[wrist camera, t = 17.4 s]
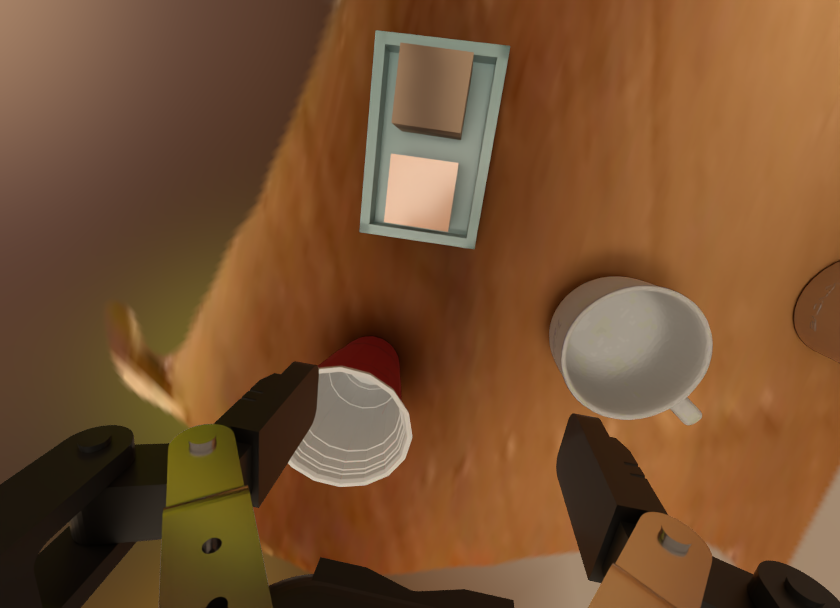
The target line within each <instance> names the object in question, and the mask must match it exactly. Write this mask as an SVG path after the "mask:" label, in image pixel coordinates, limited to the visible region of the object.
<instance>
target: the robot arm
mask: <svg viewBox="0 0 840 608" xmlns="http://www.w3.org/2000/svg"><path fill="white" fill-rule="evenodd" d="M794 323H795V329H796V331H797V334H798V336H799V338H800V339H801V340H802V341H803V342H804V343H805V345H807V346H808V347H810V348H811V349H813V350H814V351H816V352H818V353H820V354H822V355H825V356H827V357H829V358H831V359H833V360H835V361H837V362H839V363H840V262H837V263H835V264H833V265H832V266H830V267H828V268H826V269H825V270H823V271H822V272H821V273H820V274H818V275H817V276H816V277H815V278H813V280H812V281H811V282H810V283H809V284H808V285H807V286H806V288H805V289H804V291H803V292H802V294H801V296H800V297H799V299H798V302H797V305H796V308H795V314H794ZM318 380H319V368H318V366H317V365H312V364H307V363H301V362H296V361H295V362H293V363H292V364H291V365H290V366H289V367H288V368H287V369H286V370H285V371H284V372H283V373H282V374H276V373H274V374H272V375H270V376H268V377H265V378H263V379H261V380H259V381H258V382H257V383H256V384H255V385H254V386H253V387H252V388H251V389H250V391H248V392H247V393H246V394H245V395H244V396H243V397H242V399H239V400H238V401H237V402H236V403H235V404H234V405H233V406H232V407H231V408H230V409H229V410H228V411H227V412H226V413H225V414H224V415H222V416H221V417H220V418H219V419H218V420H217V421H216V422H215V423H214V424H204V425H199V426H195V427H192V428H189V429H187V430H185V431H183V432H181V433H180V434H178V435H177V436H176V437H174V438H173V439H172V441H171V442H170V443H168V444H143V445H142V444H141V445H135V444H134V435H133V433H132V431H131V430H129V429H128V428H126V427H123V426H117V425H108V426H100V427H95V428H91V429H87V430H84V431H82V432H79V433H77V434H75V435H73V436H71V437H69V438H68V439H66V440H64V441H63V442H61V443H60V444H59V445H57V446H56V447H54V448H53V449H51V450H50V451H48V452H47V453H45V454H44V455H43V456H41V457H40V458H38V459H37V460H35V461H34V462H33V463H31V464H30V465H28V466H27V467H25V468H24V469H22V470H21V471H20V472H18V473H16V474H15V475H14V476H12V477H11V478H9V479H8V480H6V481H5V482H3V483H2V484H1V485H0V608H81V607H82V605H83V604H84V603H85V602H86V601H87V600H88V598H89V597H90V596H91V595H92V594H93V593H94V591H95V590H96V589H97V588H98V587H99V585H100V584H101V583H102V582H103V581H104V580H105V578H106V577H107V576H108V575H109V574H110V572H111V571H112V570H113V569H114V568H115V567H116V565H117V564H118V563H119V562H120V561H121V560H122V558H123V557H124V556H125V555H126V554H127V553H128V551H129V550H130V549H131V548H132V547H133V545H134V544H135V543H136V542H137V541H147V540H158V539H162V541H161V566H160V587H159V608H514V602H513V600H510V599H506V598H501V597H497V596H492V595H488V594H483V593H478V592H474V591H469V590H465V589H462V590H440V591H419V592H418V591H411V590H409V589H407V588H405V587H403V586H401V585H399V584H397V583H395V582H393V581H392V580H390V579H388V578H386V577H384V576H382V575H380V574H378V573H376V572H374V571H372V570H370V569H368V568H366V567H362V566H357V565H353V564H348V563H344V562H339V561H335V560H330V559H326V558H321V557H320V560H319V562H318V565H317V567H316V570H315V572H314V574H308V575H301V576H295V577H292V578H288V579H285V580H282V581H279V582H277V583H274V584H272V585H270V586H269V585H268V580H267V575H266V570H265V565H264V561H263V555H262V550H261V545H260V540H259V536H258V531H257V526H256V521H255V516H254V511H253V507H257V508H259V507H260V505H261V503H262V502H263V500H264V499H265V497H266V496H267V494H268V493H269V491H270V490H271V488H272V486H273V485H274V483H275V482H276V480H277V479H278V477H279V476H280V474H281V473H282V471H283V469H284V468H285V466H286V465H287V463H288V462H289V460H290V459H291V457H292V456H293V454H294V452H295V451H296V449H297V448H298V446H299V445H300V443H301V442H302V440H303V439H304V437H305V435H306V434H307V432H308V431H309V429H310V428H311V426H312V424H313V421H314V418H315V415H316V410H317V397H318ZM556 469H557V477H558V480H559V484H560V487H561V490H562V494H563V497H564V500H565V504H566V507H567V510H568V514H569V517H570V520H571V524H572V527H573V530H574V534H575V537H576V540H577V544H578V547H579V550H580V554H581V557H582V560H583V564H584V567H585V570H586V574H587V577H588V580H590V581H594V582H599V583H601V585H600V587H599V589H598V590H597V592H596V594H595V596H594V598H593V599H592V601H591V603H590V605H589V607H588V608H840V602H839V601H838V599H837V598H836V597H835V596H834V595H833V594H832V593H831V592H829V591H828V590H827V589H826V588H825V587H824V586H822V585H821V584H820V583H818V582H817V581H815V580H814V579H812V578H811V577H810V576H808V575H806V574H805V573H803V572H801V571H799V570H797V569H795V568H793V567H791V566H789V565H786V564H784V563H780V562H776V561H763V562H761V563H760V564H759V566H758V567H757V569H756V571H755V573H754V575H753V574H751V573H749V572H747V571H744V570H742V569H740V568H737V567H735V566H733V565H731V564H728V563H726V562H724V561H721V560H719V559H717V558H715V557H713V556H712V554H711V551H710V549H709V547H708V546H707V544H706V543H705V541H704V540H703V539H702V538H701V537H700V536H699V535H698V534H697V533H696V532H695V531H694V530H693V529H691V528H690V527H689V526H687V525H686V524H684V523H683V522H681V521H679V520H678V519H676V518H674V517H671V516H669V515H668V514H667V512H666V511H665V509H664V507H663V506H662V504H661V502H660V501H659V499H658V497H657V496H656V494H655V492H654V491H653V489H652V487H651V485H650V484H649V482H648V480H647V479H645V475H644V474H643V472H642V470H641V469H640V467H638V464H637V462H636V460H635V459H634V457H633V455H632V454H631V452H630V451H629V450H628V449H627V448H626V447H625V446H624V445H623V444H622V443H621V442H620V441H618V440H617V439H616V438H612V437H609V435H608V433H607V431H606V429H605V428H604V426H603V424H602V422H601V420H600V419H599V418H595V417H590V416H585V415H579V414H571V416H570V417H569V420H568V423H567V426H566V430H565V433H564V436H563V439H562V443H561V446H560V449H559V453H558V456H557V465H556ZM68 522H69V527H68V528H66V529H65V530H64V531H63V532H62V533H61V534H60V535H59V536H58V537H57V538H56V539H54V540H53V541H52V542H51V543H50V544H49V545H48V546H47V547H46V548H45V549H44V550H43V551H42V552H40V550H41V549H42V547H43V546H44V545H45V544H46V542H47V541H48V540H49V539H50V538H52V537H53V536H54V535H55V534H56V533H57V532H58V531H59V530H60V529H61V528H62V527H64V526H65V525H66V524H67V523H68ZM39 552H40V553H39Z"/></svg>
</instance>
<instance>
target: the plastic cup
mask: <svg viewBox="0 0 840 608" xmlns="http://www.w3.org/2000/svg"><path fill="white" fill-rule="evenodd" d="M318 368H319V380H318V397H317V410H316V415H315V418H314V421H313V424H312V426H311V428H310V429H309V431H308V432H307V434H306V435H305V437H304V439H303V440H302V442H301V443H300V445H299V446H298V448H297V449H296V451H295V452H294V454H293V456H292V457H291V459H290V460H289V462H288V463H289V465H290V466H291V467H292V468H294V469H296V470H297V471H299V472H301V473H302V474H304V475H306V476H307V477H309V478H311V479H312V480H314V481H318V482H322V483H326V484H330V485H334V486H338V487H345V486H360V485H367V484H370V483H372V482H374V481H377V480H379V479H381V478H384V477H386V476H389V475H390V474H391V473H392V472H393V471H394V470H395V469H396V468H397V467H398V465H399V464H400V463H401V462H402V461H403V460H404V459H405V458H406V455H407V452H408V449H409V446H410V443H411V440H412V431H411V425H410V418H409V413H408V410H407V409H406V407H405V406H404V404H403V403H402V399H401V379H400V365H399V358H398V355H397V353H396V351H395V350H394V348H393V347H392V345H390V344H389V343H388V342H386V341H385V340H384V339H381V338H378V337H374V336H367V337H361V338H358V339H356V340H354V341H352V342H350V343H349V344H348V345H346V346H345V347H344V348H342V349H340V350H338V351H337V352H335V353H334V354H333V355H331V356H330V357H329V358H328V359H326V360H325V361H324V362H322V363H321V364H320V365H318Z"/></svg>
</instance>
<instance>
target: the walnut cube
mask: <svg viewBox="0 0 840 608" xmlns="http://www.w3.org/2000/svg"><path fill="white" fill-rule="evenodd" d="M473 57H474V52H467V51H460V50H453V49H445V48H438V47H431V46H423V45H416V44H409V43H401V42H400V50H399V59H398V68H397V77H396V86H395V95H394V104H393V113H392V122H391V123H392V124H393V125H395V126H396V127H397V128H398V129H400V130H401V131H403V132H410V133H417V134H424V135H430V136H437V137H444V138H450V139H457V140H461V137H462V131H463V125H464V119H465V113H466V107H467V101H468V95H469V89H470V83H471V77H472V69H473Z"/></svg>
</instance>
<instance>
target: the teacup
mask: <svg viewBox="0 0 840 608" xmlns="http://www.w3.org/2000/svg"><path fill="white" fill-rule="evenodd" d="M549 342H550V348H551V352H552V355H553V358H554V360H555V362H556V365H557V366H558V368H559V370H560V372H561V374H562V376H563V378H564V380H565V383H566V385H567V387H568V389H569V390H570V391H571V393H572V394H573V396H574V397H575V398H576V399H577V400H578V401H579V402H580V403H581V404H582V405H584V406H586V407H587V408H588V409H590V410H592V411H593V412H596V413H597V414H600V415H602V416H605V417H609V418H615V419H621V420H633V419H642V418H646V417H650V416H653V415H656V414H659V413H661V412H664V411H666V410H668V409H671V410H672V411H673V413H674V414H675V415H676V416H677V417H678V418H679V419H680V420H681V421H682V422H683V423H684V424H685V425H692V424H695V423H696V422H697V421H699V420H700V419H701V418H702V413H701V411H700V410H699V409H698V408H697V407H696V406H695V405H694V404H693V403H692V402H691V401H690V400H689V399H688V398H687V396H689V395H690V393H691V392H692V391H693V390H694V389H695V388H696V386H697V385H698V384H699V383H700V382H701V380H702V379H703V377H704V375H705V374H706V372H707V369H708V367H709V364H710V360H711V356H712V347H713V342H712V334H711V331H710V327H709V324H708V321H707V319H706V317H705V316H704V314H703V313H702V311H701V310H700V309H699V307H698V306H697V305H696V304H695V303H694V302H692V301H691V300H690V299H688V298H687V297H685V296H684V295H682V294H680V293H678V292H676V291H674V290H671V289H668V288H664V287H660V286H656V285H653V284H651V283H648V282H645V281H641V280H638V279H634V278H629V277H621V276H611V277H603V278H598V279H595V280H591V281H589V282H586V283H584V284H582V285H581V286H579V287H577V288H576V289H574V290H573V291H572V292H570V293H569V294H568V295H567V296H566V297H565V298H564V299H563V300H562V301H561V303H560V304H559V306H558V307H557V309H556V311H555V313H554V315H553V317H552V320H551V324H550V330H549Z"/></svg>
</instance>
